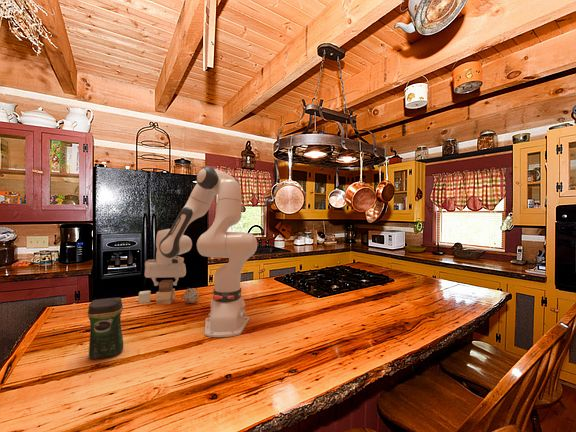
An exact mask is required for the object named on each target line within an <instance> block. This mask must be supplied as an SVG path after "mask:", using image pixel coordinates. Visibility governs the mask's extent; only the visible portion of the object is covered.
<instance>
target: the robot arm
mask: <svg viewBox="0 0 576 432" xmlns="http://www.w3.org/2000/svg"><path fill="white" fill-rule="evenodd" d="M215 196H217V197H216V198H217V199H216V210H215V216H214V220H213V222H212V224H211V226H210V227H209V228H208V229H207V230H206V231H205V232H203V233H202V234H201V235H200V236H199V237H198V239H197V242H196V249H197V252H198V253H199V255H201V256H202V257H207V258H213V259H214V258H228V262H227V263H225V264H223V265H221V266H219V267H218V268H217V269H216V270H215V272H214V289H213V292H212V296H213V297H212V300H211V301H210V312H209V313H208V317H206V318H205V322H204V324H205V325H204V336H205V337H210V338H229V337H230V338H231V337H235V336H240V335H241V334H242V332H243V331H244V329H245V327H246V326H247V324H248V323H249V321H250V317H249V316H246V308H245V307H246V304H245V300H244V299H243V298H242V291H243V290H242V287H241V279H242V278H241V275H242V271H243V267H244V265H245V264H246V262H247V261H248V260H249V259H250V258H251V257H252V256H253V255H254V254H255V253H256V252H257V249H258V241H257V238H256V236H255V235H254V234H252V233H249V232H242V231H236V232H235V231H234V232H233V231H228V230H229V228H230V227H232V226H235V225H236V224H238V223H239V222H240V221H241V219H242V202H243V199H242V189H241V183H240V180H238V178H236V177H235V176H232V175H230V174H229V173H227V172H225V171H223V170H220V169H217V168H214V167H211V166H208V165H206V166H203V167H201V168H200V169H198V172H197V173H196V184H195V186H194V188H193V189H192V191H191V193H190V195H189V197H188V199H187V201H186V203H185V205H184V206H183V208H182V209H181V210H180V212H179V213H178V215H177V216H176V219H175V220H174V222H173V224H172V225H171V228H164V229H160V230H158V231H157V233H156V236H155V237H156V239H155V246H156V247H155V248H156V256H155V259H147V260H145V262H144V277H145V278H146V279H147V278H149V279H151V280H152V282H153V286H154V287H157V286H158V287H159V281H157V278H159V279H161V278H174V280H175V281H172V287H173V286H175V287H176V286H178V285H177V284H178V281H179V278H184V277H185V276H186V274H187V268H186V264H185V262H184V261H185V258H184V257H182V256H180V255H183V254H185V253H189V252H190V251H191V250H192V247H193V240H192V239H191V237H189V236H188V235H187V234H186V235H185V231H186V230H187V228H188V226H189V225H191V223H193V222H194V221H196V220H197V219H199V218H202V217H204V216H205V215H206V214H207V212H208V211H209V210H210V208H211V206H212V203H213V200H214V199H215Z"/></svg>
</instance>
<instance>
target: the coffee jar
mask: <svg viewBox="0 0 576 432" xmlns="http://www.w3.org/2000/svg"><path fill="white" fill-rule="evenodd" d="M122 302H123V301H122V298H121V297H120V296H119V297H109V298H100V299H94V300H92V301H91V302H89V305H88V310H87V317H88V320H89V323H90V330H89V333H90V334H89V344H88V345H89V346H88V359H91V360H98V359H104V358H110V357H114V356H117V355H119V354H120V353H121V352H122V351H123V349H124V338H123V337H124V336H123V331H122V322H121V321H122V320H121V315H122V313H123V308H124V307H123V303H122Z"/></svg>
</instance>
